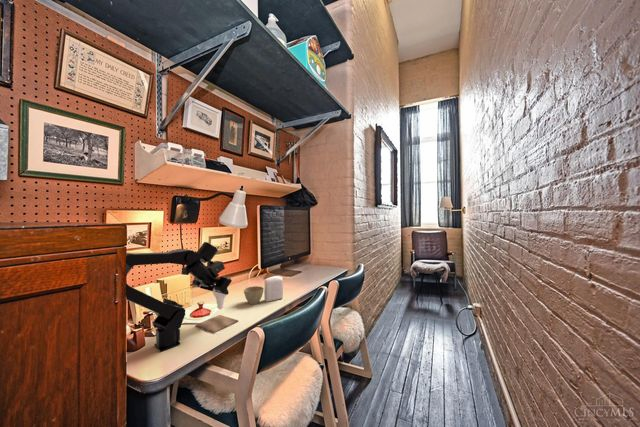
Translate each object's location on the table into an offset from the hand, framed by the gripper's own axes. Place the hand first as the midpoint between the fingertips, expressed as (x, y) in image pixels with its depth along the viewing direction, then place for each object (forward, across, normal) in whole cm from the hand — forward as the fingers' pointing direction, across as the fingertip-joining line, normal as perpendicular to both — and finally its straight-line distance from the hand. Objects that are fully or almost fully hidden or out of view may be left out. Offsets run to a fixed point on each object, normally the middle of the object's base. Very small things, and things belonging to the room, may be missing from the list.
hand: (222, 292), depth 111 cm
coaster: (+6, -1, +11) cm, 13 cm away
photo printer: (+31, -2, -14) cm, 34 cm away
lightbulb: (+4, 0, +6) cm, 7 cm away
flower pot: (+25, +4, -8) cm, 26 cm away
